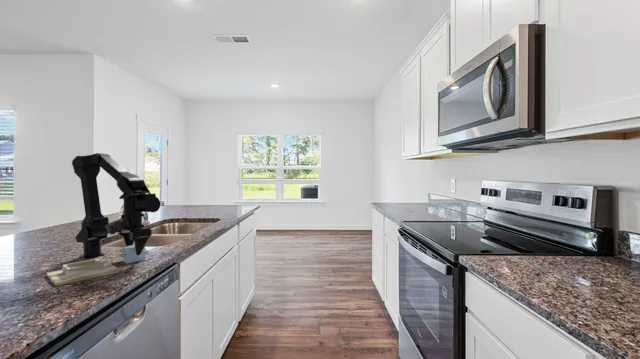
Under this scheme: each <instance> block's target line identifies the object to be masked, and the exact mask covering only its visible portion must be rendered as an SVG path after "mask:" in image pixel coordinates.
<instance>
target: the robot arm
mask: <svg viewBox="0 0 640 359" xmlns="http://www.w3.org/2000/svg"><path fill="white" fill-rule="evenodd" d="M71 164H72V165H71V166H72V169H73V172H74V174H75V175H76V176H77V177H78V178H79V179H80V184H81V185H80V186H81V192H82V198H83V206H84V212H85V213H84V214H85V216H84V218H83V219H82V221H81V230H80V231H79V232H78V233H77V234H76V235H75V241H76V242H77V243H82V249H83V250H82V251H83V252H82V254H80V257H81V258H82V259H84V260H85V259H92V258H97V257H103V256H105V253H104V252H102V240H104V239H105V240H106V239H108V234H110V235H111V236H112V235H115V234H118V236H121V237H122V239H123V242H124V245H125V246H130V245H135V250H136V255H140V254H141V252H142V250H143V248H144V246H146V244H147V242H148V240H149V239H150V238H151V236H152V235H153V232H152V229H151V228H149V227H147V226H145V224H143V217H145V214H144V213H156V212H158V211H159V210H160V208H161V201H160V199H159V197H157V196H156V193H152V192H151V191H150V190H149V187H148V186H147V184H146V183H145V180H144V178H142V177H141V176H139V175H137V174H134V173H131V172H129V171H128V170H126V169H125V168H124V167H123V166H121V165H120V164H119V163H118V162H117V161H116V160H114V159H113V158H112V157H111V155H110V154H108V153H103V152H102V153H99V152H98V153H97V152H96V153H92V154H88V155H77V156H75V157H74V158H73V159H72V160H71ZM101 169H102V170H104V171H105V172H106V173H107V174H108V175H109V176H111V177H112V178H113V180H115V181H116V186H117V187H118V189H119V190H120V191H121V193H122V194H121V195H120V196H119V197H118V199H119V200H123V213H121V215H120V218H119V219H116V220H114V221H112V222H109V221H110V220H109V217H108V216H104V215H103V213H102V210H101V202H100V194H99V188H98V187H99V186H98V181H97V179H98V175H99V173H100V172H101Z"/></svg>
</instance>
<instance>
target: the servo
mask: <svg viewBox="0 0 640 359" xmlns="http://www.w3.org/2000/svg"><path fill="white" fill-rule="evenodd" d="M145 246H146V245H145ZM145 246H144V248H143V250H142V252H141V254H140V255H136V250H135V245H134V244H133V245H130V246H126V245H125V246H122V253H119V254H118V255H117V256H118V257H120V258H122V262H123V263H125V264H131V263H136V262H141V261H145V259H146V258H145V255H146V254H147V253H149V250H147V249H145Z"/></svg>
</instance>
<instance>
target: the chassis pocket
mask: <svg viewBox="0 0 640 359" xmlns="http://www.w3.org/2000/svg"><path fill="white" fill-rule="evenodd" d="M116 273H120V269H119V268H118V267H116V266H115V265H113V264H111V263H110V262H108V261H107V260H105V261H102V260H100V259H98V258H93V259H92V258H91V259H89V260H88V259H87V260H83V261H77V262H72V263H71V262H70V263H65V264H62V269H58V270H57V269H56V270H52V271H48V272H46V277H47V278H48V279H49V280H50V281H51V283H53V285H54V287H58V286H62V285H63V286H64V285H67V284H72V283H77V282H82V281H86V280H90V279H95V278H99V277H104V276H108V275H113V274H116Z"/></svg>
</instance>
